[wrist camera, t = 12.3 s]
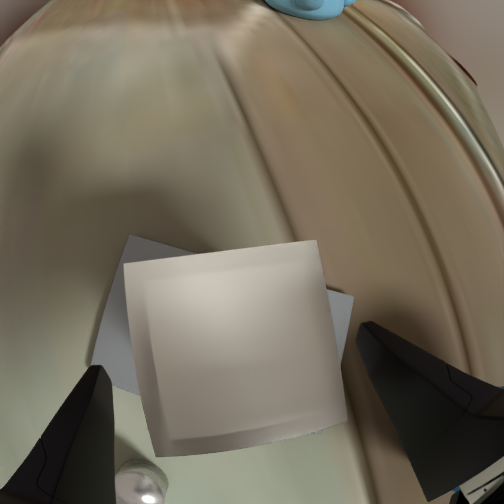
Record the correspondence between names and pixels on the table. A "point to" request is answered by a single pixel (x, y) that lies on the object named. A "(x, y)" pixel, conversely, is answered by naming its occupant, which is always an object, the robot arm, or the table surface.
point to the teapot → (311, 8)
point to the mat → (117, 326)
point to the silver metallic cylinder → (140, 483)
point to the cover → (234, 348)
